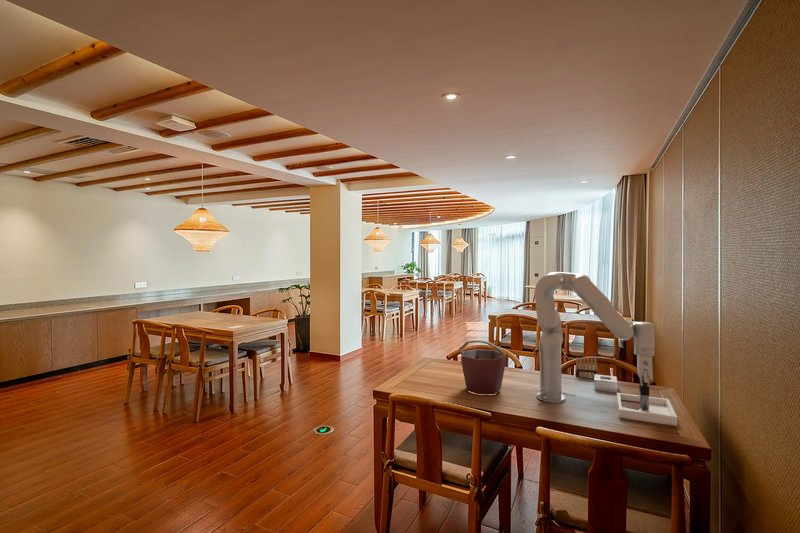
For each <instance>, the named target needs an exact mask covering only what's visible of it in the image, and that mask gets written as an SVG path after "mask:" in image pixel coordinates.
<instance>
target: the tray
mask: <svg viewBox="0 0 800 533" xmlns="http://www.w3.org/2000/svg"><path fill="white" fill-rule="evenodd" d="M622 400H623V401H629V402H630V401H631V402H637V403H640V394H638V395H637V394H632V393H621V392H617V393H616V401H617V412H618V418H620V419H625V420H632V421H633V420H634V421H640V422H646V423H647V422H648V423H655V424H658V425H659V424H660V425H665V426H666V425H667V426H668V425H669V426H675V427H678V416H677V414H676V412H675V410H674V407H673V405H672V403H671V401H670V400H669V398H663V397H654V396H649V410H642V409H640V407H639V408H638V409H635V408H632V407H628V406H627V407H626V406H623V405H622Z"/></svg>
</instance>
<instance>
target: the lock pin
mask: <svg viewBox="0 0 800 533" xmlns="http://www.w3.org/2000/svg"><path fill="white" fill-rule="evenodd" d="M643 381H644V380H643ZM639 382H640V385H641V380H640V379H639ZM639 395H640V402H639V408H640V409H642V410H649V397H650V395H649V396H647V395H641V394H640V393H639Z"/></svg>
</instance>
